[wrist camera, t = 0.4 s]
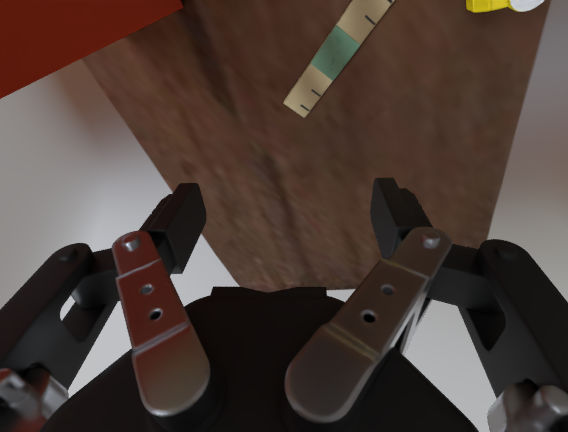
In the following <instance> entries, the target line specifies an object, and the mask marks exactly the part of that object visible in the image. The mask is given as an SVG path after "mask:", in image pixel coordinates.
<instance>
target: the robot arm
mask: <svg viewBox="0 0 568 432" xmlns="http://www.w3.org/2000/svg"><path fill="white" fill-rule="evenodd" d="M370 215H371V222H372V225H373V228H374V232H375V235H376V238H377V242H378V245H379V248H380V252H381V255H382V258H381V259H380V260H379V261H378V263H377V264H376V265H375V266H374V267H373V269H372V270H371V271H370V272H369V274H368V275H367V276H366V277H365V279H364V280H363V281H362V282H361V284H360V285H359V286H358V287H357V289H356V290H355V291H354V292H353V293H352V295H351V296H350V297H349V298H348V300H347V301H346V302H343V301H341V300H339V299H336V298H333V297H329V296H327V294H326V293H327V292H326V287H295V288H290V289H285V290H280V291H276V292H270V293H266V292H261V291H257V290H252V289H248V288H244V287H213V289H212V292H211V295H210V296H206V297H203V298H200V299H198V300H195V301H193V302H191V303H189V304H188V305H186V306H185V307H184V306H183V304H182V302H181V300H180V298H179V296H178V294H177V291H176V289H175V287H174V285H173V283H172V281H171V278H170V275H171V274H182V273H183V271H184V269H185V267H186V264H187V262H188V260H189V258H190V256H191V254H192V251H193V249H194V247H195V245H196V243H197V241H198V238H199V236H200V234H201V232H202V230H203V228H204V225H205V223H206V209H205V206H204V202H203V198H202V195H201V191H200V188H199V185H198V184H197V183H180V184H179V185H178V187H177V188H176V189H175V191H174V192H173V194H169V195H168V196H166V197H165V198H164V199H162V200H161V201H160V202H159V204H158V205H157V206H156V208H155V209H154V210H153V212H152V214H150V216H149V217H148V218H147V220H146V221H145V223H144V224H143V225H142V227H141V228H140V229H139V230H138V231H133V232H130V233H127V234H125V235H123V236H121V237H120V238H118V239H117V240H116V241H115V242H114V243H113V245H112V248H110V249H106V250H101V251H97V252H92V251H91V249H90V247H89V246H88V245H87V244H85V243H76V244H71V245H68V246H65V247H63V248H61V249H59V250H58V251H56V252H55V253H54V254H52V255H51V256H50V257H49V258H48V259H47V260H46V261H45V263H44V264H43V265H42V266H41V267H40V268H39V269H38V270H37V271H36V272H35V273H34V274H33V276H31V278H30V279H29V280H28V281H27V282H26V283H25V284H24V285H23V286H22V287H21V288H20V289H19V290H18V291H17V293H16V294H15V295H14V296H13V297H12V298H11V299H10V300H9V301H8V302H7V303H6V304H5V305H4V306H3V307H2V309H1V310H0V432H479V431H478V430H477V428H476V427H475V426H474V425H473V424H472V422H471V421H470V420H469V419H468V418H467V417H466V416H465V415H464V414H463V413H462V412H461V411H460V410H459V409H458V408H457V407H456V406H455V405H454V404H453V403H452V402H450V401H449V399H448V398H447V397H446V396H445V395H444V394H442V393H441V392H440V391H439V390H438V389H437V388H436V387H435V386H434V385H433V384H432V383H431V382H430V381H429V380H428V379H427V378H426V377H425V376H424V375H423V374H422V373H421V372H420V371H419V370H418V369H417V368H416V367H415V366H414V365H413V364H412V363H411V362H410V361H409V360H408V359H406V358H405V357H404V355H405V353H406V351H407V348H408V346H409V344H410V341H411V339H412V337H413V335H414V333H415V331H416V329H417V327H418V325H419V324H420V322H421V320H422V318H423V316H424V314H425V313H426V311H427V309H428V306H429V305H430V303H431V301H432V299H433V300H437V301H441V302H445V303H448V304H452V305H456V306H458V308H459V311H460V313H461V315H462V318H463V320H464V323H465V325H466V327H467V330H468V332H469V334H470V337H471V339H472V342H473V344H474V346H475V349H476V351H477V353H478V355H479V358H480V360H481V362H482V365H483V367H484V370H485V372H486V374H487V377H488V379H489V381H490V384H491V386H492V388H493V391H494V393H495V396H496V398H497V400H496V401H495V402H494V403H493V405H492V406H491V407H490V409H489V411H488V416H487V418H488V425H489V429H490V432H568V302H567V301H566V300H565V298H564V297H563V296H562V295H561V293H560V292H559V291H558V290H557V288H556V287H555V286H554V285H553V284H552V282H551V281H550V280H549V278H548V277H547V276H546V275H545V273H544V272H543V271H542V270H541V268H540V267H539V266H538V265H537V263H536V262H535V261H534V260H533V258H532V257H531V256H530V255H529V254H528V252H527V251H525V250H524V249H523V248H521V247H520V246H518V245H516V244H514V243H511V242H508V241H504V240H497V239H493V240H492V239H491V240H486V241H484V242H483V243H482V244H481V245H480V248H479V249H475V248H470V247H464V246H460V245H456V244H453V243H452V240H451V238H450V237H449V236H448V235H447V234H446V233H444V232H443V231H441V230H439V229H436V228H433V226H432V225H431V223H430V221H429V219H428V218H427V216H426V214H425V212H424V211H423V209H422V207H421V205H420V204H419V203H418V200H417V198H416V197H415V195H414V194H413V193H411V192H410V191H409V190H407V189H406V188H400V189H399V187H398V185H397V183H396V182H395V180H394V178H375V180H374V185H373V193H372V201H371V210H370ZM70 295H71V296H72V297H73V299H74V300H75V301H76V302H75V303H74V305H73V306H72V307H71V309H70V310H69V312H68V313H67V314H66V316H65V317H64V319H63V320H62V321H61V319H60V311H61V308H62V306H63V305H64V303H65V302H66V301H67V299H68V298H69V296H70ZM118 301H121V305H122V309H123V313H124V317H125V321H126V325H127V329H128V333H129V337H130V341H131V346H132V349H130V350H129V351H128V352H126V353H125V354H124V355H123V356H122V357H120V358H119V359H118V360H117V361H115V362H114V363H113V364H111V365H110V366H109V367H108V368H106V370H104V371H103V372H102V373H100V374H99V375H98V376H97V377H95V378H94V379H93V380H91V381H90V382H89V383H88V384H87V385H85V386H84V387H83V388H82V389H80V390H79V391H78V392H76V393H75V394H74V395H73V396H71V398H69V399H68V389H69V387H70V385H71V384H72V382H73V380H74V378H75V377H76V375H77V373H78V371H79V369H80V368H81V366H82V364H83V362H84V361H85V359H86V357H87V355H88V354H89V352H90V350H91V348H92V346H93V345H94V343H95V341H96V339H97V337H98V336H99V334H100V332H101V330H102V329H103V327H104V325H105V323H106V322H107V320H108V318H109V316H110V315H111V313H112V311H113V309H114V307H115V306H116V304H117V302H118Z"/></svg>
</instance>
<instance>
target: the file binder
mask: <svg viewBox="0 0 568 432" xmlns="http://www.w3.org/2000/svg"><path fill="white" fill-rule="evenodd" d="M182 8H183V5H182V3H181V0H0V99H1V98H3V97H5V96H7V95H9V94H11V93H13V92H15V91H17V90H19V89H21V88H23V87H25V86H27V85H29V84H31V83H33V82H35V81H37V80H39V79H41V78H43V77H45V76H47V75H49V74H51V73H53V72H55V71H57V70H59V69H61V68H63V67H65V66H67V65H69V64H71V63H73V62H75V61H77V60H79V59H81V58H83V57H85V56H87V55H89V54H91V53H93V52H95V51H97V50H99V49H101V48H103V47H105V46H107V45H109V44H111V43H113V42H115V41H117V40H119V39H121V38H123V37H125V36H127V35H129V34H131V33H133V32H135V31H137V30H139V29H141V28H143V27H145V26H147V25H149V24H151V23H153V22H155V21H157V20H159V19H161V18H163V17H165V16H167V15H170V14H172V13H174V12H176V11H178V10H180V9H182Z"/></svg>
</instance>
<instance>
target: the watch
mask: <svg viewBox="0 0 568 432" xmlns="http://www.w3.org/2000/svg"><path fill="white" fill-rule="evenodd" d="M543 1H544V0H466V6H467V10H470V11H472V12H487V11H493V10H497V9H501V8H505V7H509V8H511V9H513V10H515V11H518V12H525V11H528V10H531V9H533V8H535V7H537V6H539V5H540V4H541V3H542V2H543Z"/></svg>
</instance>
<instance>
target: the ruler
mask: <svg viewBox="0 0 568 432" xmlns="http://www.w3.org/2000/svg"><path fill="white" fill-rule="evenodd" d="M393 2H394V0H352V1H351V3H350V4H349V5H348V7H347V8H346V10H345V11H344V13H343V14H342V16H341V17H340V19H339V20H338V22H337V23H336V25H335V26H334V28H333V29H332V31H331V32H330V33H329V35H328V36H327V38H326V39H325V41H324V42H323V44H322V45H321V47H320V48H319V50H318V51H317V53H316V54H315V56H314V57H313V59H312V60H311V61H310V63H309V64H308V66H307V67H306V69H305V70H304V72H303V73H302V75H301V76H300V78H299V79H298V81H297V82H296V84H295V85H294V87H293V88H292V89H291V91H290V92H289V94H288V95H287V97H286V98H285V100H284V101H283V103H284V104H285V105H287V106H288V107H289V108H291V109H292V110H294V111H295V112H297V113H298V114H300V115H301V116H302V117H304V118H305V117H306V116H307V114H308V113H309V112H310V110H311V109H312V108H313V106H314V105H315V104H316V102H317V101H318V100H319V99H320V97H321V96H322V95H323V93H324V92H325V91H326V89H327V88H328V87H329V85H330V84H331V83H332V81H334V79H335V78H336V77H337V75H338V74H339V73H340V72H341V70H342V69H343V68H344V66H345V65H346V64H347V62H348V61H349V60H350V58H351V57H352V56H353V55H354V53H355V52H356V51H357V49H358V48H359V47H360V45H361V43H362V42H363V41H364V40H365V38H366V37H367V36H368V34H369V33H370V32H371V30H372V29H373V28H374V26H375V25H376V24H377V22H378V21H379V20H380V19H381V17H382V16H383V15H384V13H385V12H386V11H387V9H388V8H389V7H390V5H391V4H392V3H393Z"/></svg>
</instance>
